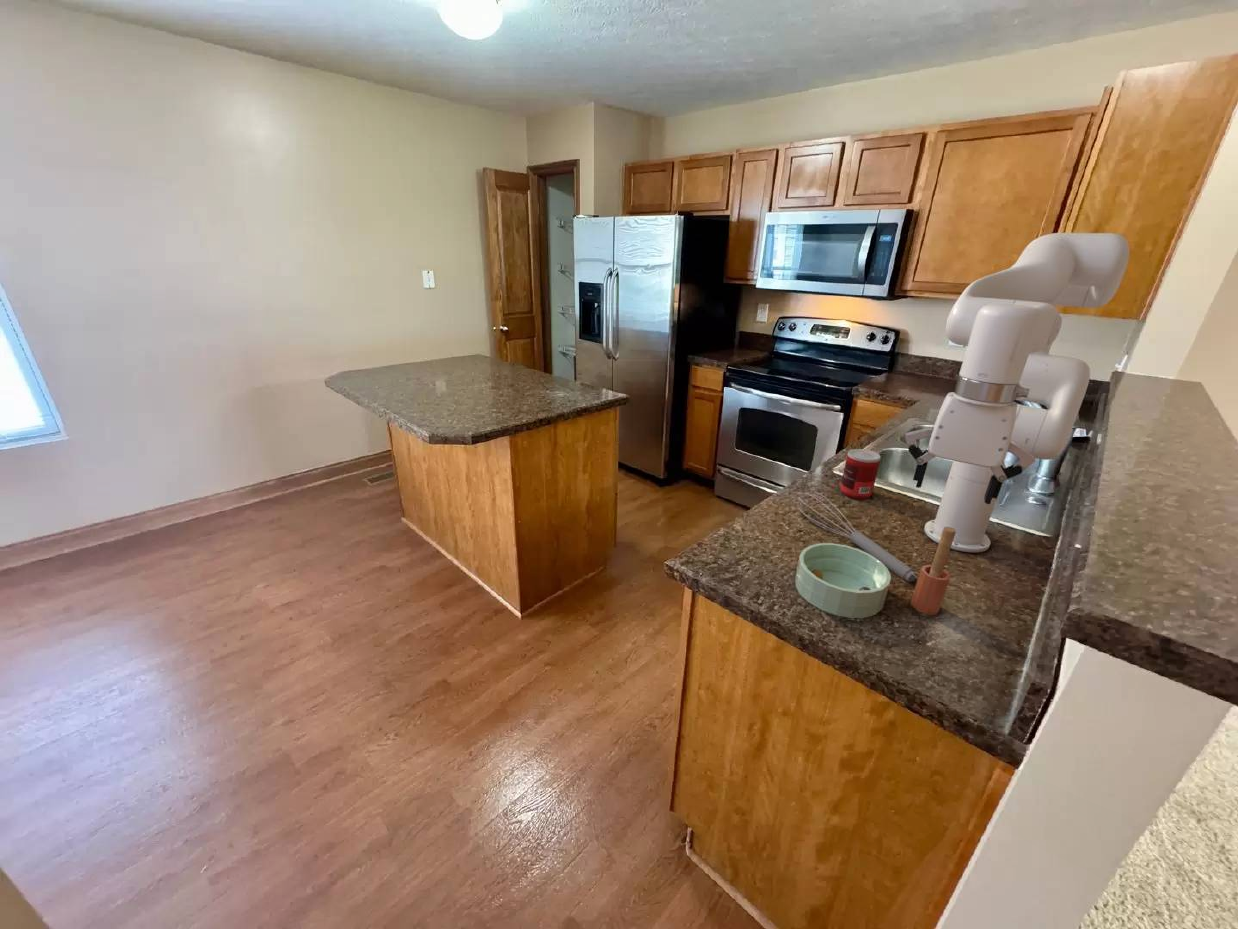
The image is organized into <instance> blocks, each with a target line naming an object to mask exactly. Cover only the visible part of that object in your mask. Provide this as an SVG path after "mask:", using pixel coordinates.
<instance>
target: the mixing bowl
mask: <svg viewBox="0 0 1238 929" xmlns="http://www.w3.org/2000/svg"><path fill="white" fill-rule="evenodd" d="M814 569H818V570H820V571H821V572H822V573H823V579H820V578H818V577H816V576H815V575H814V574H813V573H812V572H811V571H812V570H814ZM891 580H892V575H891V573H890V570H889V569H888V568H887V567H886V566H885V565H884V564H883V563H882V562H881V561H879V560H878V559H876V558H875V557H874V556H872V555H870V554H868V553H867V552H865V551H864V550H863V549H861V548H856V547H854V546H850V545H846V544H840V543H834V542H833V543H832V542H820V543H816V544H810V545H808V546H807V547H805V548H804V549H802V551H801V552H800V554H799V557H798V562H797V566H796V572H795V578H794V583H795V589H796V590H797V592H798V593H799V595H800V596H801V597H802V598H803V599H804V600H805V601H807V602H808V603H809V604H811V605H812V606H813V607H816V608H817V609H819V610H820V611H823V612H826V613H828V614H832V615H834V616H837V617H844V618H849V619H865V618H868V617H872V616H875V615H877V614H879V613H880V612H881V611H882V610H883V608H884V605H885V603H886V602H885V601H886V597H887V594H888V590H889V588H890V584H891ZM862 587H868V588H870V589H871V590H859V589H860V588H862Z"/></svg>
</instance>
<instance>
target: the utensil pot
mask: <svg viewBox="0 0 1238 929" xmlns="http://www.w3.org/2000/svg"><path fill="white" fill-rule="evenodd" d="M931 566H932V564H924V565H922V567H921V568H920V571H919V575H918V576H917V578H918V579H917V581H916V584H915V587H914V589H913V592H912V593H913V594H912V596H911V600H910V605H911V606H912V608H913V609H915V610H916V611H917V612H920V613H922V614H925V615H930V616H934V615H935V616H936V615H937V614H939V612H940V611H941V610H940V609H941V607H942V605H943V601H944V598H945V595H946V593H947V591H948V587H949V583H950V581H951V578H952V576H951V573H950V572H948V571H947V569H945V568H944V569H943V572H942V575H941V578H937V577H934V576H932V575H930V574H929V572H930V569H931Z"/></svg>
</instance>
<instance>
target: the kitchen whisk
mask: <svg viewBox="0 0 1238 929" xmlns="http://www.w3.org/2000/svg"><path fill="white" fill-rule="evenodd" d="M810 493H811V491H808V492H804V493H803V495H802V496H800V497H798V500H797V508H798V509H800V512H801V513H802V514H803V515H804V516H805V517H806V518H807V519H808V520H809V521H811V522H812V523H814V524H815V525H817V526H819V527H820V528H822V529H825V530H827V531H829V532H832V533H834V534H837V535H839V536H842V537H845V538H848V539H849V541H851V543H853V544H854V545H856V546H857V547H858V548H859V549H860V550H862V551H864V552H866V553H868V554H870V555H872V556H874V557H875V558H876V559H878V560H879V561H881V562H882V563H883V564H884V565H885V566H886V568H887V569H888V570H889V571H891V572H892V573H893V574H894V575H896V577H899V579H901V580H903V581H905V582H907V583H910V582H913V581H916V579H917V580H918V574H917V573H916V572H915V571H914V569H913V568H912V567H910V566H908V565H907V564H905V563H904V562H903V561H901V560H900V559H898V558H897V557H896V556H894V555H893V554H892V553H890V552H889V551H887V550H886V549H884V548H883V547H882V546H880V545H879V544H878V543H877V542H875V541H873V540H872V539H870V538H869V537H868V536H867V535H865V534H864V533H862V532H860V531H859V530H856V529H855V528H854V527H853V525H852V524H851V522H849V520H848V519H847V518H846V516H845V515H844V514H843V513H842V511H840V510H839V508H838V507H837V506H836V505H835V504H834V503H833V502H832V501H830V500H829V499H828V497H827V496H824V495H823V494H821V493H820V492H817V491H815V494H817V495H815V494H810ZM819 495H820V496H819ZM809 496H810V497H813V498H814V499H815V500H817V501H818V502H820V503H821V505H822V506H824V507H826V508H827V509H828V511H827V509H825V508H824V507H822V506H821V505H819V504H817V503H816V502H814V501H812V500H810V499H808V498H806V497H809ZM818 498H820V499H822V500H824V501H826V502H827V503H829V504H830V505H831V506H832V507H834V509H835V510H837V512H839V513H840V514H841V516H842V517H843V518H844V519H845V520H846V521H847V523H848V524H849V525H848V524H846V523H845V522H844V521H843V520H842V519H841V518H840V517H839V516H838V515H836V514H835V513H834V511H832V510H831V509H830V508H829V507H828V506H826V505H825V504H824V503H823V502H822V501H821V500H820V499H818ZM804 499H805V500H806V501H809V502H811V503H813V504H814V505H816V506H818V507H819V508H821V509H822V510H824V511H825V512H826V513H827V514H829V515H830V516H831V517H833V518H834V519H836V520H837V521H838V522H839V523H841V524H842V526H844V527H845V528H846V529H847V530H849V531H850V532H851V533H850V532H849V531H847V530H845V529H844V528H842V527H841V526H840V525H838V524H836V523H835V522H833V521H832V520H830V519H828V518H827V517H825V516H824V515H823V514H821V513H819V511H816V510H815V509H814V508H812V507H811V506H810V505H808V504H807V503H805V500H804ZM799 502H800V503H799ZM802 503H803V504H804V506H805V507H806V508H807V509H808V511H809V512H810V513H811V514H812V515H814V517H816V518H817V519H819V520H820V521H821V522H823V523H824V524H822V523H821V522H819V521H817V520H815V519H813V518H812V517H810V516H808V515H807V514H806V513H805V512H804V511H803V508H800V507H802ZM799 504H800V507H799ZM811 510H813V512H812V511H811ZM829 511H830V512H831V513H830V512H829ZM814 512H815V513H817V514H818V515H820V516H821V517H823V518H824V519H826V520H828V521H829V522H830V523H832V524H833V525H835V526H837V527H838V528H840V529H841V530H839V529H836V530H835V529H833V526H832V525H830V524H828V523H827V522H825V521H824V520H823V519H821V518H819V517H818V516H817V515H816V514H814ZM836 517H837V518H836ZM823 526H824V527H823ZM849 526H850V527H851V528H852V529H851V528H850V527H849ZM827 528H828V529H827ZM842 530H843V531H845V532H843V531H842ZM847 533H848V534H847Z"/></svg>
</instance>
